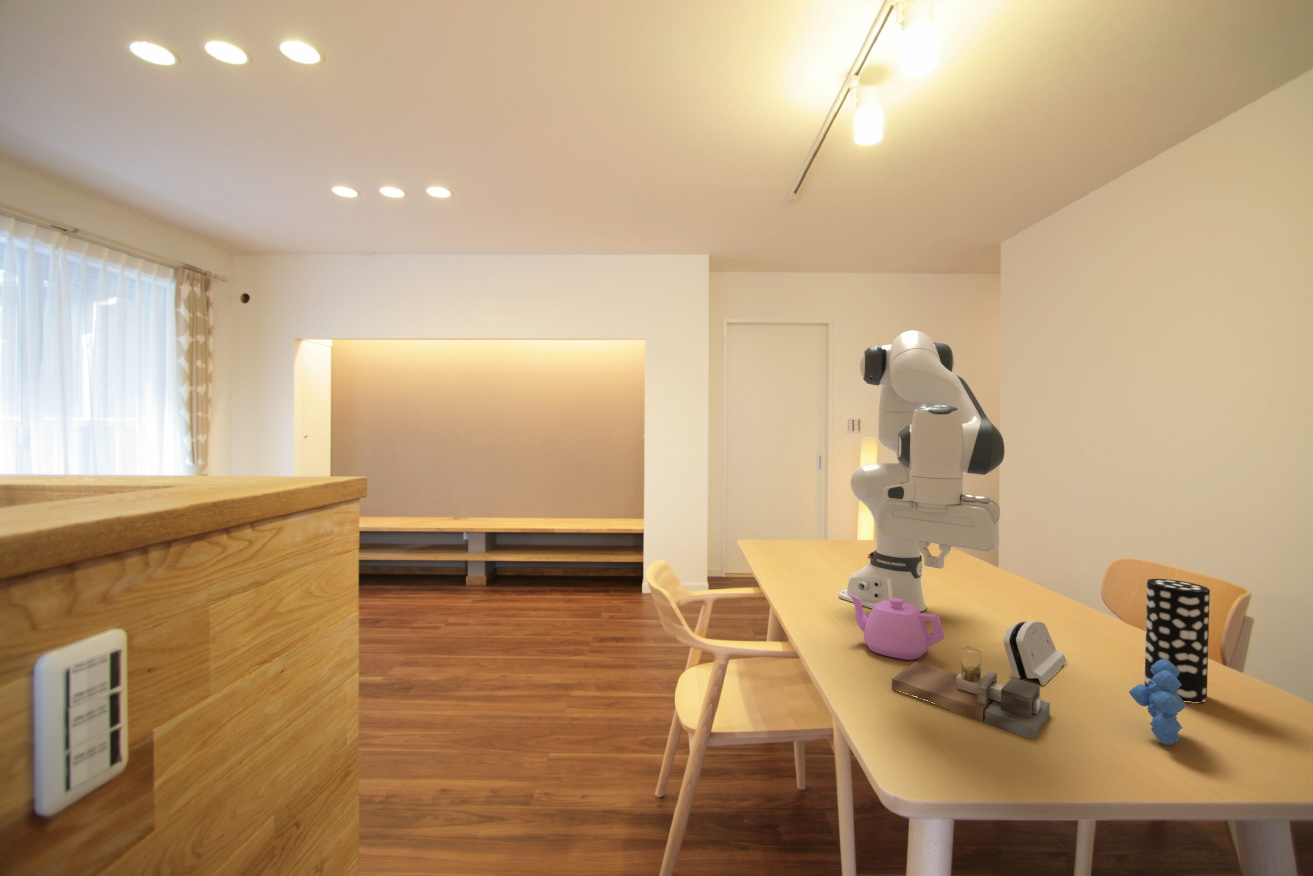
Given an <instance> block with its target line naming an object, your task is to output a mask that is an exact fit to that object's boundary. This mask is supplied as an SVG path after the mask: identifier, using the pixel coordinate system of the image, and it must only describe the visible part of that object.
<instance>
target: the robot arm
mask: <svg viewBox="0 0 1313 876" xmlns="http://www.w3.org/2000/svg"><path fill="white" fill-rule="evenodd" d="M954 367H955V356H954V353H953V349H952V348H951V347H950V346H949V344H946V343H944V342H935V341H932V339H931V337H930V336H928V334H927V333H925V332H922V331H920V330H909V331H905V332H902V333H900V334H899V335H897V336H896V337H895V339H894V340H893V341H892V343H890V344H884V345H881V344H876V345H873V346H869V347H868V348H866V349H865V350H864V352H863V355H862V356H861V358H860V362H859V371H860V374H861V376H862V378H863V379H862V380H863V381H864V382H865V383H866V384H869V385H872V386H877V387H879V385H881V390H880V395H879V404H878V439H879V441H880V443H881V445H883V446H884V447H885V448H887V449H889V450H891V451H893V452H895V454H896V456H897V457H896V458H897V460H898V462H893V463H890V462H888V463H887V462H886V463H885V462H876V463H875V462H874V463H870V464H869V463H868V464H864V465H860V466H858V467H856V469H855V470H854V471H853V473H852V475H851V478H850V488H851V490H852V493H853V495H854V496H855V498H857V499H858V500H859V501H861V503H863V504H864V505H865V507H867V508H868V510H869V512H870V513H871V515H872V517H873V520H874V524H875V533H876V539H875V541H876V549H874V551H871V552H870V553H869V554H867V558H866V559H869V563H868V564H866V565H865V566H863V567H860V568H859V569H858V570H857V571H854V572H853V573H852V574H851V575H850V577H849V578H848V582H847V587H846V588H844V589H842V590H840V591H839V594H838V598H839V599H842V600H845V601H848V602H852V603H854V601H853V600H852V598H851V597H850V596H849V595H848V594H847V593H851V594H853V595H856V596H857V597H858V598H859V599H860V601H861V603H862V607H866V608H869V609H871V610H872V609H873V607H874V606H875V604H876V603H878V602H880V601H885V600H888V601H890V599H891V598H898V599H901V600H903V603H907V604H911V605H914V606H916V607H917V608H918V609H919V611H920V612H923V611H926V609H927V606H926V603H925V597H924V594H923V587H922V573H923V566H925V567H930V568H935V569H940V570H942V569H944V567H945V559H946V558H947V556H948V555H949V553H950V551H952V547H955V548H956V547H957V548H963V549H969V550H974V551H981V552H982V551H983V552H992V551H993V550H995V549H996V548H997V547H998V546H999V544H1000V539H999V537H1000V536H999V535H1000V534H999V527H998V522H999V520H1000V518H1001V517H1000V513H1001V512H1000V506H999V504H998V503H997V502H996V501H995V500H993V499H991V498H990V497H989V496H988V497H987V496H975V495H968V494H964V474H963V473H967V474H970V475H971V474H973V475H980V476H985V475H987V474H989V473H990V472H992V471H994V470H996V469H997V468H998V467H1000V465H1001V464H1002V463H1003V460H1004V457H1005V443H1004V442H1005V441H1004V438H1003V436H1002V433H1001V431H1000V430H999V429H998V428H997V427H996V426H995V425H994V424H993V423H992V422H991V421H990V419H989V418H988V416H987V414H986V413H985V411H984V409H983V408H982V406H981V405H980V402H979V401H978V399H977V398H976V396H975V394H974V393H973V391H972V389H971V388H970V386H969V385H968V383H967V381H966V380H964V378H963V377H962V376H959V375H957V374H955V373H954V372H953V371H954ZM931 544H937V545H938V550H940V551H941V552H940V553H939V555H938V556H934V555H932V553H931V552H930V550H929V548H928V547H930V546H931ZM921 554H922V555H921Z"/></svg>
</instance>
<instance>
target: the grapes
mask: <svg viewBox="0 0 1313 876" xmlns="http://www.w3.org/2000/svg"><path fill="white" fill-rule="evenodd" d="M1151 667H1152V668H1151V669H1150V670H1151V672H1152V673H1153V675H1154V677H1153V678H1152V679H1151V680H1150V681H1148V683H1147V684H1148V685H1149V686H1148V687H1147V686H1145V684H1142V683H1140V684H1137V685H1135V686H1134V687H1132V688H1131V689H1129V691H1128V693H1129V694H1130V696H1131V697H1132V699H1133V700H1134V701H1135V702H1136V703H1137V704H1138V705H1140V706H1142V707H1147V710H1148V711H1147V713H1148V714H1149V715H1150V716H1151V717H1152V719H1151V722H1149V725H1150V726H1151V727H1152V728H1150V730H1151V732H1152V733H1153V735H1154V736H1155V737H1156V738H1157V740H1158V741H1159V742H1160V743H1162V744H1163V745H1165V746H1170V745H1173V744H1175V743H1176V742H1178V740H1180V739H1181V738H1182V737H1181V736H1180V734H1179V732H1180V731H1181V730H1182V729H1183V726H1182V725H1181V724H1180V722H1179V721H1178V720H1177V719H1178V718H1177V715H1178V713H1180V712H1182V711H1183V710H1185V708H1186V707H1187V703H1186V702H1184V701H1183V700H1182V699H1181V698H1180V697H1179V696H1178V695H1177V693H1176V692H1178V691H1177V689H1178V688H1179V687H1180V686H1181V685H1182V684H1181V683H1180V682H1179V680H1178V679H1177V677H1178V674H1180V672H1179V671H1178V669H1177V668H1176V667H1175V666H1174V665H1173V664H1172V663H1171V662H1170V661H1169V660H1167V659H1161V660H1159V661H1157V662H1156V663H1154V664H1153V665H1152V666H1151Z"/></svg>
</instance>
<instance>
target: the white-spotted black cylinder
mask: <svg viewBox="0 0 1313 876" xmlns="http://www.w3.org/2000/svg"><path fill="white" fill-rule="evenodd" d="M1210 591H1211V590H1210V587H1209V588H1208V587H1206V586H1204V585H1201V584H1197V583H1192V582H1188V581H1183V580H1176V579H1167V578H1149V579H1147V580H1146V615H1145V620H1146V621H1145V652H1144V653H1145V655H1144V659H1145V660H1144V665H1145V666H1144V685H1145V686H1147V687H1148V686H1149V685H1148V684H1147V683H1148V681H1150V680H1151V679H1152V678H1153V677H1154V675H1153V673H1152V672H1151V670H1150V669H1151V668H1152V667H1151V666H1152V665H1153V664H1154V663H1156V662H1157V661H1159V660H1161V659H1167V660H1169V661H1170V662H1171V663H1172V664H1173V665H1174V666H1175V667H1176V668H1177V669H1178V671H1179V672H1180V674H1178V677H1177V679H1178V680H1179V682H1180V683H1181V684H1182V685H1181V686H1180V687H1179V688H1178V689H1177V691H1178V692H1176V693H1177V695H1178V696H1179V697H1180V698H1181V699H1182V700H1183V701H1191V702H1203V701H1206V700H1207V699H1208V672H1209V671H1208V669H1209V666H1208V665H1209V663H1208V662H1209V637H1210V636H1209V633H1210V630H1209V629H1210V627H1209V626H1210V598H1211V597H1210V595H1211V594H1210V593H1211V592H1210ZM1207 701H1208V700H1207ZM1207 701H1206V702H1207Z"/></svg>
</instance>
